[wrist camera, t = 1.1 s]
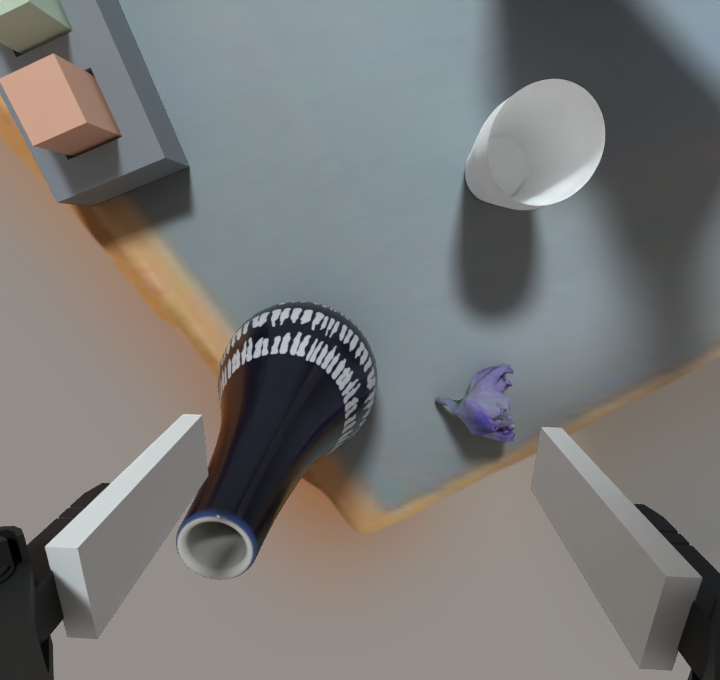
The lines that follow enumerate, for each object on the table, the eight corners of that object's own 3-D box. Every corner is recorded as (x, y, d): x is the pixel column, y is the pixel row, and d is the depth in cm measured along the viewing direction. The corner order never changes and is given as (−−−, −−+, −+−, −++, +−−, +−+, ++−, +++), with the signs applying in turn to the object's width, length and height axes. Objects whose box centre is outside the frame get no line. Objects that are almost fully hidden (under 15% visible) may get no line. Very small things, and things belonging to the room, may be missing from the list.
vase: (245, 411, 49) (68, 658, 21) (245, 286, 45) (23, 378, 16) (370, 422, 49) (367, 686, 20) (382, 298, 45) (400, 411, 16)
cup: (537, 213, 42) (600, 205, 30) (452, 216, 42) (482, 210, 30) (543, 119, 39) (615, 72, 28) (454, 124, 40) (487, 79, 28)
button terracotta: (60, 104, 38) (-2, 79, 32) (107, 83, 37) (53, 53, 31) (87, 159, 39) (33, 145, 33) (133, 140, 39) (86, 122, 32)
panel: (-70, -119, 36) (-139, -174, 31) (40, -180, 34) (-14, -248, 29) (92, 206, 43) (57, 202, 38) (189, 166, 41) (165, 157, 37)
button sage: (9, 1, 36) (-68, -48, 30) (58, -23, 35) (-10, -79, 29) (40, 63, 37) (-28, 29, 31) (88, 41, 36) (28, 1, 30)
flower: (435, 462, 43) (527, 450, 37) (414, 385, 44) (500, 363, 38) (465, 443, 50) (546, 431, 45) (447, 378, 52) (523, 359, 46)
